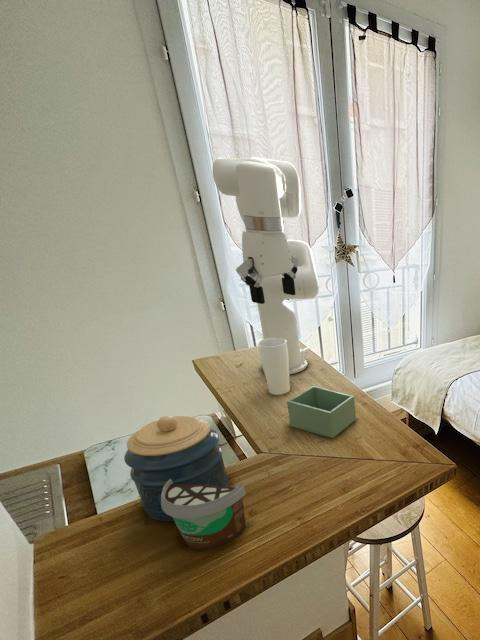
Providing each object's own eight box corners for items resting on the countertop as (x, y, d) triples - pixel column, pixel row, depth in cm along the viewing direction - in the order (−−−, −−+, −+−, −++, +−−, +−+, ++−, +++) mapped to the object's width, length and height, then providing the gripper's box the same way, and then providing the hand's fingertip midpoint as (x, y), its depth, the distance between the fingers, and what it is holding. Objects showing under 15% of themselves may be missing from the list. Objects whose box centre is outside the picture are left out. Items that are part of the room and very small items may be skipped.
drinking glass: (298, 387, 115) (291, 339, 108) (284, 398, 109) (276, 348, 102) (275, 384, 115) (268, 336, 109) (260, 395, 109) (251, 344, 102)
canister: (233, 506, 73) (214, 426, 66) (142, 534, 66) (108, 448, 58) (227, 466, 82) (209, 393, 75) (146, 487, 75) (117, 408, 68)
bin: (316, 408, 106) (313, 385, 102) (355, 419, 103) (354, 396, 100) (290, 426, 97) (286, 401, 94) (332, 438, 95) (330, 413, 92)
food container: (154, 552, 63) (136, 505, 59) (181, 522, 69) (166, 478, 65) (233, 557, 64) (220, 511, 60) (254, 527, 70) (244, 483, 65)
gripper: (279, 220, 98) (288, 289, 105) (216, 224, 83) (231, 303, 90) (305, 224, 96) (312, 293, 104) (244, 229, 81) (258, 309, 88)
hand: (274, 298), depth 97 cm, fingers open, 9 cm apart
